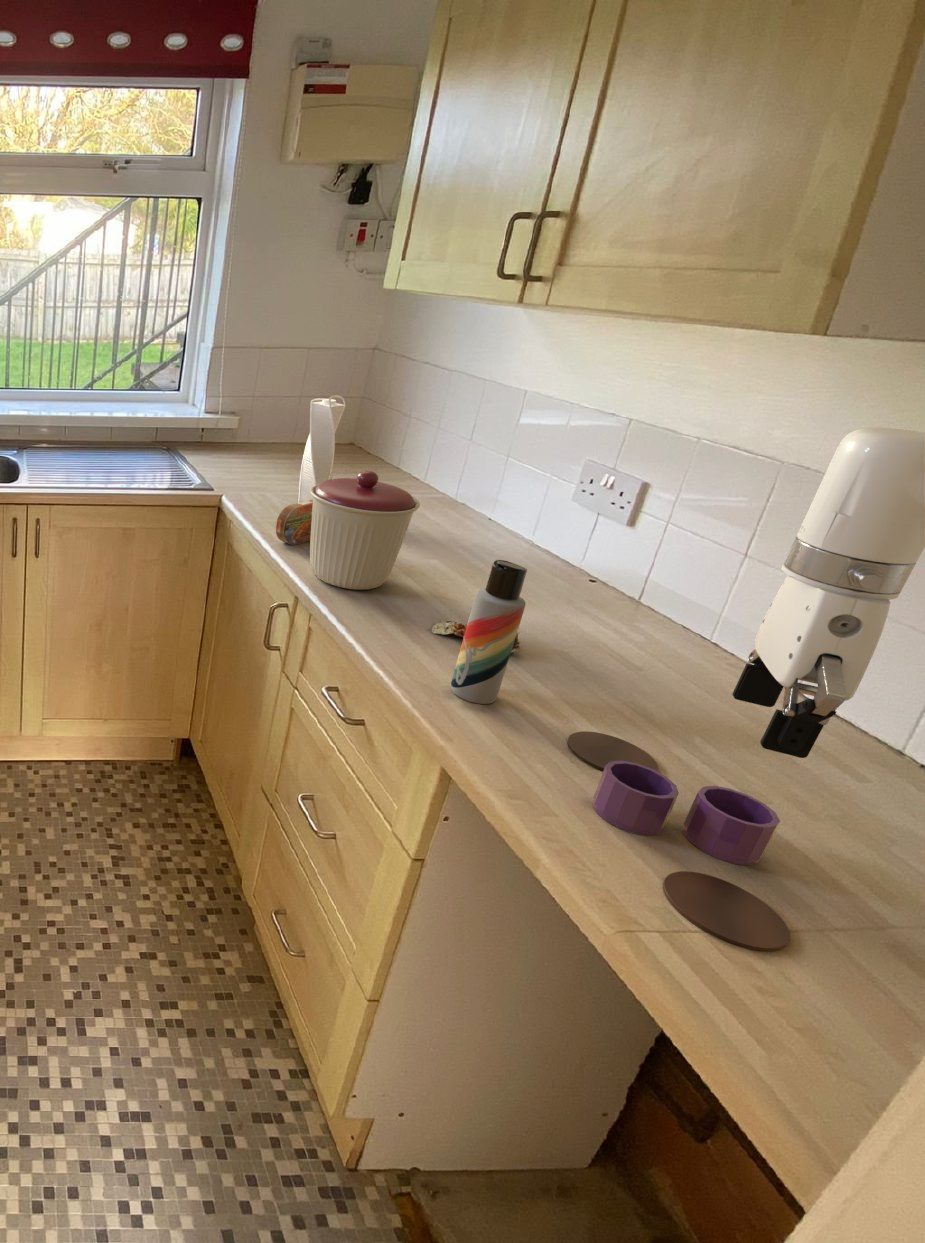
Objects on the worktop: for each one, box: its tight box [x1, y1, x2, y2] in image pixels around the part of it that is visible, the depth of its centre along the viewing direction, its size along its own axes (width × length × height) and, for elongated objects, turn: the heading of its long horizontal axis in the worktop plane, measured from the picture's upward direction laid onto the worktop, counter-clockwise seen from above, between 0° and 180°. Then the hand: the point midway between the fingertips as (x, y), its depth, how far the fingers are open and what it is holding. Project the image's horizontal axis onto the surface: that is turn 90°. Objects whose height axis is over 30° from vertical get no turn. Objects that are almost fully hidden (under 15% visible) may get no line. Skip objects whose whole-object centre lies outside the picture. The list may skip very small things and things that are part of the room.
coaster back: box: [566, 730, 659, 772], centre depth 94 cm, size 9×9×1 cm
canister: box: [309, 470, 421, 591], centre depth 139 cm, size 18×18×21 cm
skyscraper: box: [297, 394, 347, 503], centre depth 174 cm, size 8×8×28 cm
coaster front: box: [662, 870, 791, 952], centre depth 72 cm, size 9×9×1 cm
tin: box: [275, 500, 313, 546], centre depth 161 cm, size 15×3×8 cm, turn 120°
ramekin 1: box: [591, 761, 680, 836], centre depth 83 cm, size 6×6×5 cm
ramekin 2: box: [682, 785, 781, 866], centre depth 80 cm, size 6×6×5 cm
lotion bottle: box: [450, 559, 528, 705], centre depth 103 cm, size 6×6×20 cm
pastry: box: [431, 619, 521, 653], centre depth 121 cm, size 7×12×4 cm, turn 53°
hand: (766, 725), depth 75 cm, fingers open, 9 cm apart
